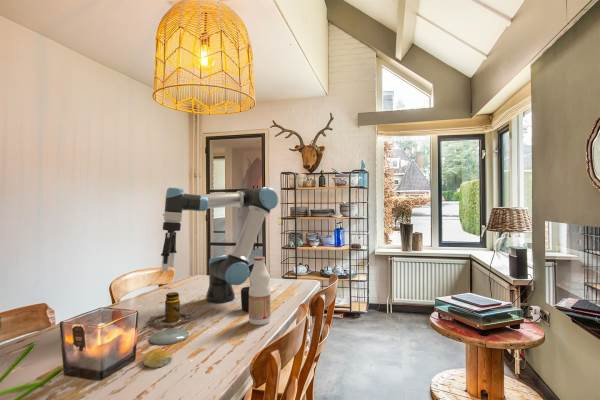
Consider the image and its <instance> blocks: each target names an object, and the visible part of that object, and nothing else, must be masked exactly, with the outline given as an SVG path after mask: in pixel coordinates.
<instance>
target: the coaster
mask: <svg viewBox="0 0 600 400" xmlns="http://www.w3.org/2000/svg"><path fill="white" fill-rule="evenodd" d="M188 337H189V331H187V330H186V329H182V328H169V329H168V328H167V329H164V330H160V331H159V330H158V331H157V332H155V333H153V334H151V335H150V337H149V343H151V344H153V345H159V346H165V345H174V344H177V343H180V342H182V341H183V342H184V341H185V340H186V339H188Z"/></svg>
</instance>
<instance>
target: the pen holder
mask: <svg viewBox="0 0 600 400" xmlns="http://www.w3.org/2000/svg"><path fill="white" fill-rule="evenodd" d="M249 287H250V286H244V287H242V288H241V290H240V303H241V305H240V306H241V310H242V311H243V312H248V313H249Z"/></svg>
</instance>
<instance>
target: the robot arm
mask: <svg viewBox="0 0 600 400" xmlns="http://www.w3.org/2000/svg"><path fill="white" fill-rule="evenodd" d="M278 203H279V196H278V193H277V191H275V189H274V188H272V187H266V186H264V187H254V188H248V189H245V190H244V189H242V190H237V191H236V192H227V193H226V192H224V193H208V194H207V193H205V194H193V193H192V194H191V193H190V194H189V193H185V190H184V189H183V188H179V187H168V188H167V190H166V193H165V201H164V213H163V214H162V216H163V222H162V224H163V225H162V230H163V231H167V232H165V234H164V235H165V237H164V242H163V247H162V252H161V253H160V256H161V257H162V261H161V262H162V263H161V272H165V273H166V272H169V268H174V267H175V266H174V265H175V255H176V254H177V252H178V250H177V247H176V246H177V232H180V231H181V229H182V228H181V225H182V224H181V222H182V217H183V211H191V212H192V211H196V212H205V211H207V210H208V209H217V208H219V209H220V208H231V207H237V208H238V209H241V208H242V209H243V208H244V209H245V208H247V209H249V212H248V214H247V218H246V219H245V221H244V224H243V227H242V229H241V232H240V234H239V236H238V239H237V241H236V244H235V246H234V249H233V251H232V252H230V253H228V255H222V256H214V257H213V256H212V257H210V259H209V261H208V267H209V268H208V269H209V270H208V273H209V274H208V278H209V279H208V282H209V283H208V284H209V286H208V289H207V291H206V295H205V301H206V302H207V303H211V304H212V303H213V304H221V303H223V304H224V303H228V302H231V301H234V300H235V298H236V297H235V296H236V294H235V291H234V287H233V286H240V285H242V284H244V283H245V282H246V281H247V280H248V279H249V275H250V268H249V265H250V259H249V257H250V255H251V252H252V250H253V247H254V245H255V243H256V239H257V237H258V235H259V232H260V230H261V227H262V225H263V223H264V220H265V218H266V217H267V216H269V215H270V213H271V211H272V210H273V209H275V208H276V207H277V205H278Z"/></svg>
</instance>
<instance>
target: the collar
mask: <svg viewBox="0 0 600 400" xmlns="http://www.w3.org/2000/svg"><path fill="white" fill-rule="evenodd" d="M181 316H182V318H184V319H182V321H179V322H176V323H169V324H161V323H160V322H156V321H159V320H160V319H165V313H161V314H159V315H151V316H150V317H149V318H148V319H147V321H148V322H147V323H148V326H149V327H153V328H156V329H168V328H169V329H170V328H176V327H180V326H183V325H186V324H187V323H191V318H192V313H191V312H189V313H187V312H181V311H180V317H181Z"/></svg>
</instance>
